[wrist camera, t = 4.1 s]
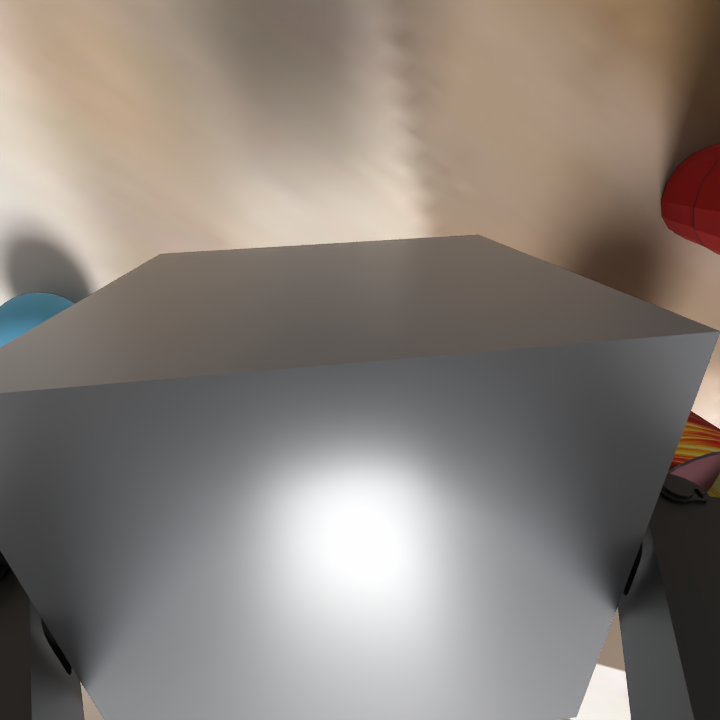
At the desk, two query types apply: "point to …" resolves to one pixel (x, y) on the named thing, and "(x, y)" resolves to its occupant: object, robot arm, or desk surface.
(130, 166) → the desk surface
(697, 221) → the plastic cup
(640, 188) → the desk surface
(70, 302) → the ball
